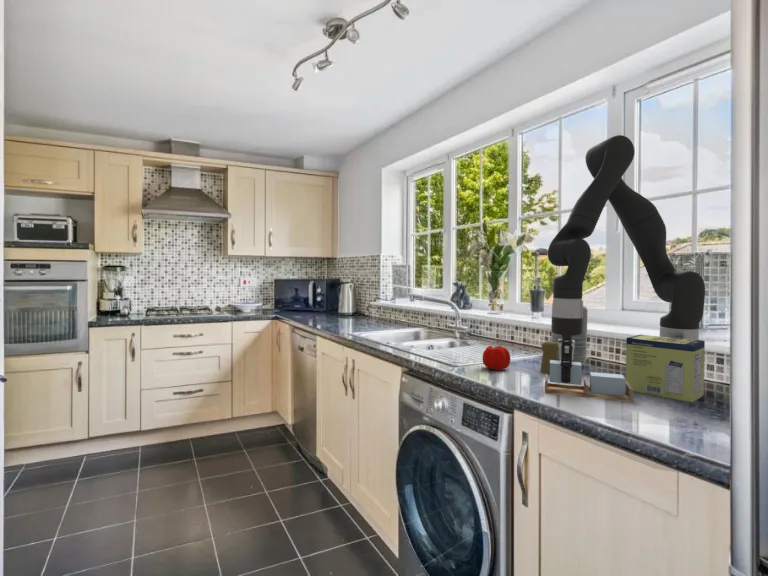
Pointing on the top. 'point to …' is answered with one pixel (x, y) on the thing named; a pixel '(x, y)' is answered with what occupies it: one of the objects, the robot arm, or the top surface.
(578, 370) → the grey blue block
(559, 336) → the vase
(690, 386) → the protein box
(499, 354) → the tomato
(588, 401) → the top surface
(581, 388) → the rack
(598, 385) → the pale blue sponge block
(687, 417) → the top surface
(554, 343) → the cork
